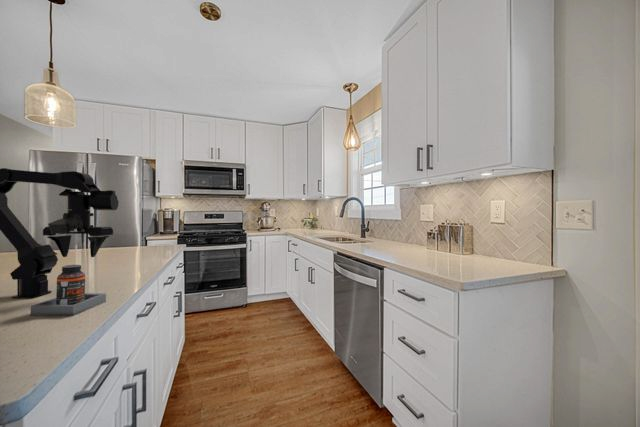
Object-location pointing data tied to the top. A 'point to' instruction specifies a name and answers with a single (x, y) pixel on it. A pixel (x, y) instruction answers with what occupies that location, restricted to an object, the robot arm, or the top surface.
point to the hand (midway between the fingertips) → (78, 256)
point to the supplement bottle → (70, 285)
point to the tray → (67, 306)
